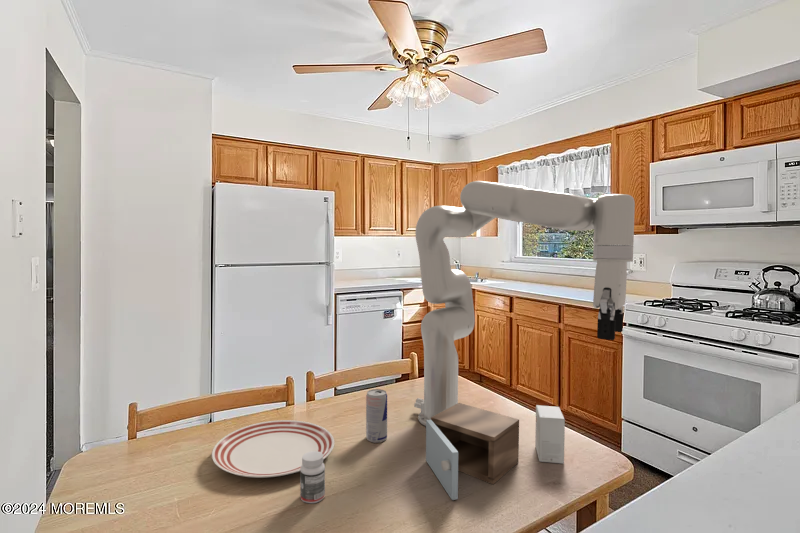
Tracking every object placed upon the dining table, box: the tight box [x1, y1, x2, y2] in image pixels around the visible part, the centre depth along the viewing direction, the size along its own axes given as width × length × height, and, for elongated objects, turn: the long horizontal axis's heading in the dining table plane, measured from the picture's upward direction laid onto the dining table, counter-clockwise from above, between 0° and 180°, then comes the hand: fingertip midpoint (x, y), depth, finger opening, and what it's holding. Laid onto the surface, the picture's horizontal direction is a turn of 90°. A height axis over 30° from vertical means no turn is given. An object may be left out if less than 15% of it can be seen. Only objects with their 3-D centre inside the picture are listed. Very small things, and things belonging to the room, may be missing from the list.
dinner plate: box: [211, 419, 335, 479], centre depth 102 cm, size 27×27×3 cm
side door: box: [425, 420, 459, 501], centre depth 92 cm, size 16×3×9 cm, turn 15°
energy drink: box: [365, 388, 388, 444], centre depth 111 cm, size 5×5×12 cm
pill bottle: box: [299, 451, 326, 504], centre depth 86 cm, size 5×5×8 cm
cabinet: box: [431, 402, 520, 485], centre depth 100 cm, size 16×12×10 cm
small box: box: [534, 404, 566, 465], centre depth 103 cm, size 8×6×10 cm
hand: (610, 335), depth 92 cm, fingers open, 9 cm apart
